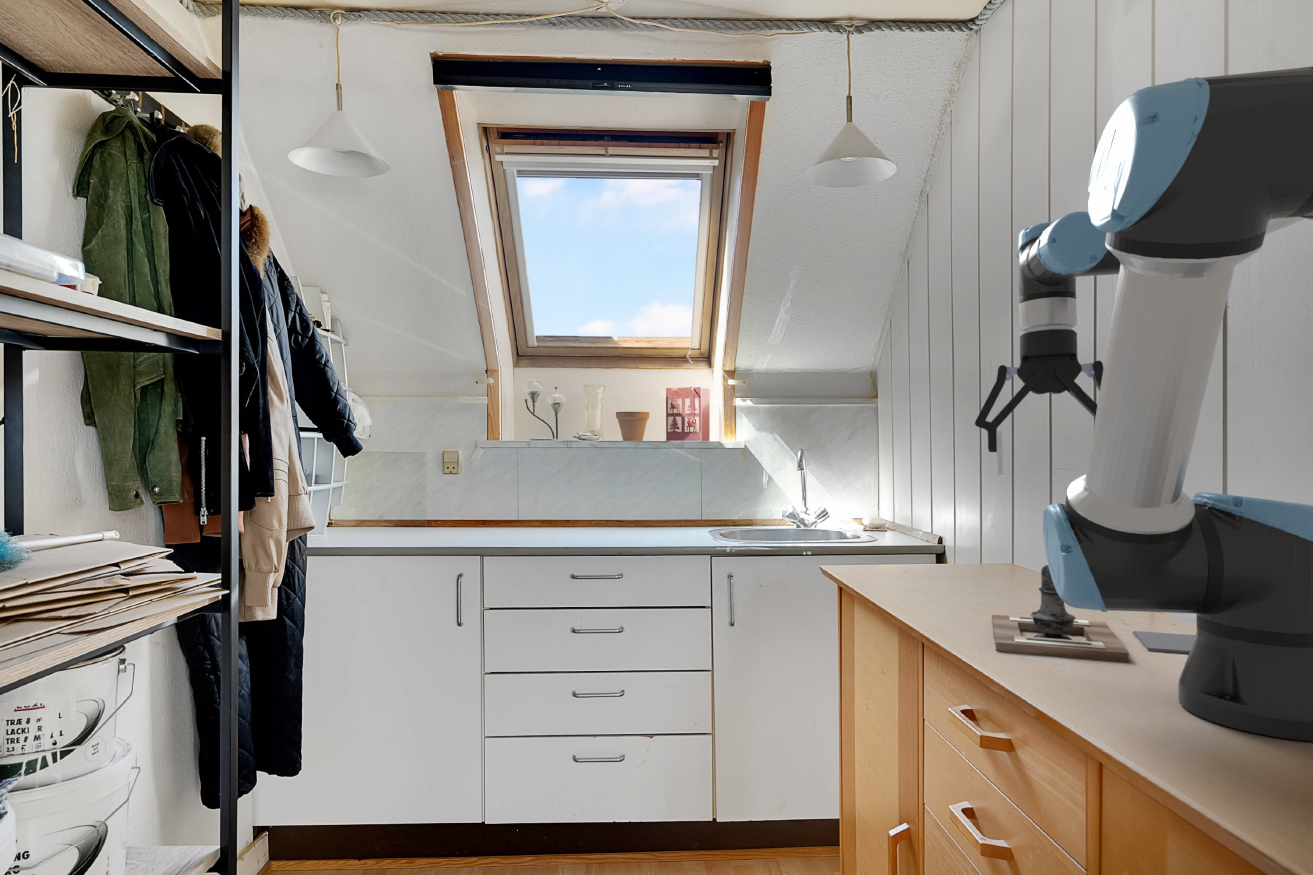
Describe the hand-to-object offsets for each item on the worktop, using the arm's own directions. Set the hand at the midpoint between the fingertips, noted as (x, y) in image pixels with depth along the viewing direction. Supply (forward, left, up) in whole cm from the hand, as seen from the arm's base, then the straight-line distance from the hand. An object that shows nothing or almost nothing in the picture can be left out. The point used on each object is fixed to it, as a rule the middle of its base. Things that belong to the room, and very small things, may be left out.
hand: (1050, 474), depth 110 cm
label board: (0, 0, -24) cm, 24 cm away
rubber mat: (+3, -17, -24) cm, 30 cm away
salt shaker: (0, 0, -24) cm, 25 cm away
